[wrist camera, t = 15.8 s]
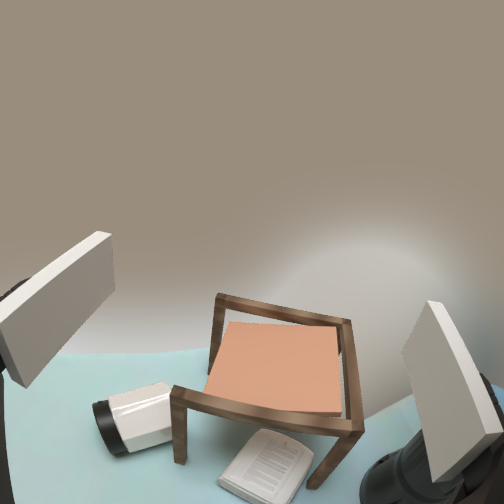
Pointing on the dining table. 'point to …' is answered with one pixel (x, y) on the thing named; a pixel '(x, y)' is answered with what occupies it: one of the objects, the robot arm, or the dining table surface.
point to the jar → (135, 418)
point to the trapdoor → (279, 368)
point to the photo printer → (267, 468)
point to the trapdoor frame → (270, 417)
